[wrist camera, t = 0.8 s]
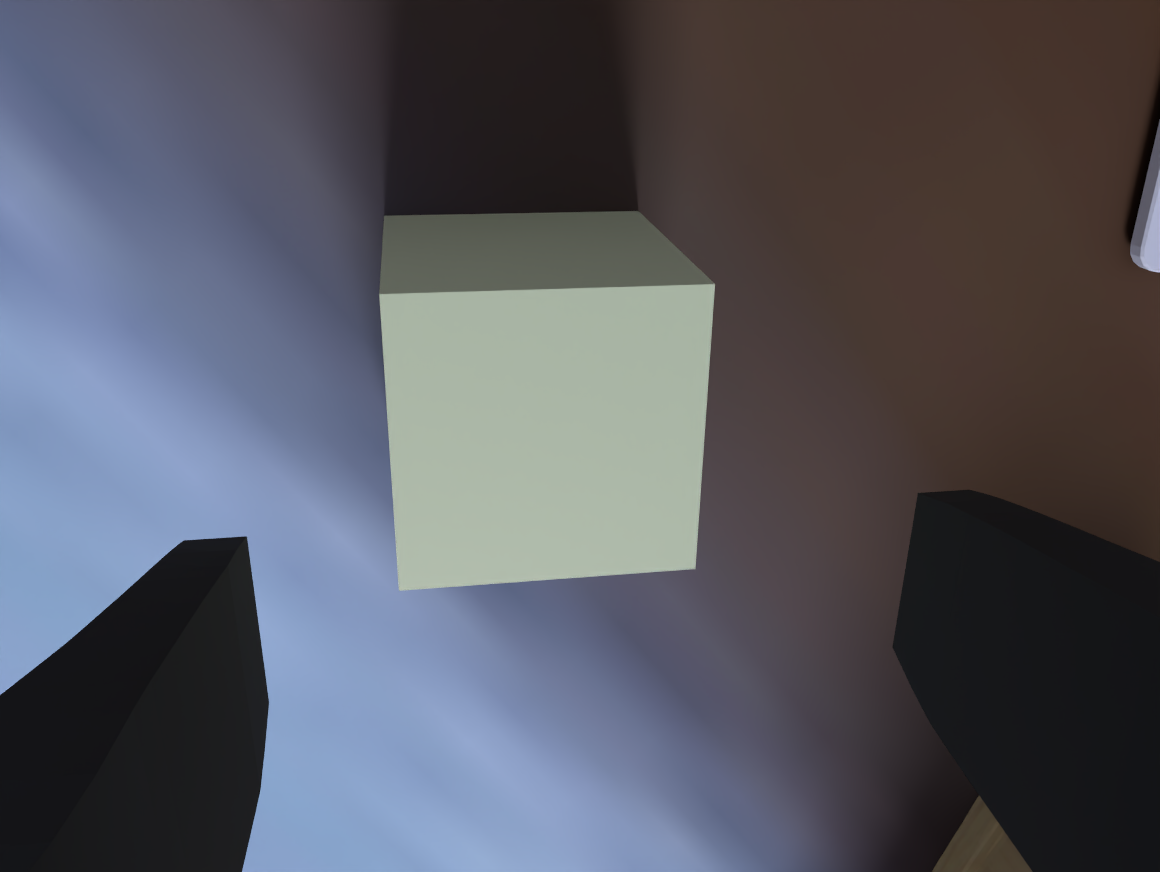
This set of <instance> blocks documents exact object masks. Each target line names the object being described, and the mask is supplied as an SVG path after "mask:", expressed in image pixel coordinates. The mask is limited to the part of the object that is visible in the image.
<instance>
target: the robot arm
mask: <svg viewBox="0 0 1160 872" xmlns="http://www.w3.org/2000/svg"><path fill="white" fill-rule="evenodd" d="M1130 254H1131V257H1132V259H1133V262H1134V263H1136V264H1137V265H1138V266H1139V267H1141V268H1144V269H1147V270H1149V271H1154V272H1160V121H1159V125H1158V129H1157V133H1156V138H1155V142H1154V146H1153V151H1152V155H1151V159H1150V163H1149V168H1148V172H1147V176H1146V181H1145V185H1144V189H1143V193H1142V198H1141V202H1140V206H1139V210H1138V215H1137V219H1136V223H1135V228H1134V232H1133V236H1132V240H1131V248H1130ZM893 649H894V651H895V653H896V655H897V657H898V660H899V662H900V664H901V666H902V668H903V670H904V672H905V674H906V677H907V679H908V681H909V683H910V685H911V687H912V689H913V691H914V693H915V695H916V697H917V699H918V701H919V703H920V705H921V707H922V709H923V710H924V712H925V714H926V716H927V718H928V720H929V722H930V724H931V725H932V727H933V728H934V730H935V731H936V733H937V734H938V736H939V737H940V739H941V740H942V742H943V743H944V745H945V746H946V748H947V749H948V751H949V752H950V754H951V755H952V756H953V758H954V759H955V761H956V762H957V764H958V765H959V767H960V768H961V770H962V771H963V773H964V774H965V776H966V777H967V778H968V780H969V781H970V783H971V784H972V786H973V787H974V789H975V790H976V791H977V793H978V794H979V796H980V797H981V799H982V800H983V801H984V803H985V804H986V806H987V807H988V809H989V810H990V811H991V813H992V814H993V816H994V817H995V819H996V820H997V822H998V823H999V824H1000V826H1001V827H1002V829H1003V830H1004V832H1005V833H1006V834H1007V836H1008V837H1009V839H1010V840H1011V842H1012V843H1013V844H1014V846H1015V847H1016V849H1017V850H1018V852H1019V853H1020V854H1021V856H1022V857H1023V859H1024V860H1025V862H1026V863H1027V865H1028V866H1029V867H1030V869H1031V870H1032V872H1160V562H1158V561H1156V560H1153V559H1151V558H1148V557H1146V556H1143V555H1141V554H1138V553H1136V552H1133V551H1131V550H1128V549H1126V548H1124V547H1121V546H1119V545H1116V544H1114V543H1111V542H1109V541H1106V540H1104V539H1102V538H1099V537H1097V536H1094V535H1092V534H1089V533H1087V532H1085V531H1082V530H1080V529H1077V528H1075V527H1072V526H1070V525H1067V524H1065V523H1063V522H1060V521H1058V520H1055V519H1053V518H1050V517H1048V516H1045V515H1043V514H1040V513H1038V512H1035V511H1032V510H1030V509H1027V508H1025V507H1022V506H1019V505H1017V504H1014V503H1011V502H1008V501H1005V500H1003V499H1000V498H997V497H993V496H990V495H987V494H983V493H980V492H976V491H972V490H959V491H944V492H928V493H918V497H917V503H916V509H915V515H914V521H913V527H912V533H911V539H910V545H909V551H908V557H907V563H906V569H905V575H904V581H903V587H902V593H901V600H900V606H899V612H898V618H897V624H896V630H895V636H894V642H893ZM268 707H269V700H268V692H267V685H266V677H265V670H264V662H263V655H262V647H261V640H260V632H259V625H258V617H257V610H256V602H255V595H254V587H253V580H252V572H251V565H250V557H249V550H248V542H247V537H231V538H216V539H201V540H185V541H183V542H181V543H180V544H179V545H177V546H176V547H175V548H174V549H172V550H171V551H170V552H169V553H168V554H167V555H165V556H164V557H163V558H162V559H161V560H160V561H159V562H158V563H156V564H155V565H154V566H153V567H152V568H151V569H150V570H149V571H148V572H146V573H145V574H144V575H143V576H142V577H141V578H140V579H139V580H138V581H137V582H135V583H134V584H133V585H132V586H131V587H130V588H129V589H128V590H127V591H125V592H124V593H123V594H122V595H121V596H120V597H119V598H118V599H117V600H115V601H114V602H113V603H112V604H111V605H110V606H109V607H107V608H106V609H105V610H104V611H103V612H102V613H100V614H99V615H98V616H97V617H96V618H95V619H94V620H92V621H91V622H90V623H89V624H88V625H87V626H86V627H84V628H83V629H82V630H81V631H80V632H79V633H78V634H76V635H75V636H74V637H73V638H72V639H71V640H69V641H68V642H67V643H66V644H65V645H64V646H62V647H61V648H60V649H58V650H57V651H56V652H55V653H53V654H52V655H51V656H50V657H48V658H47V659H46V660H44V661H43V662H42V663H41V664H39V665H38V666H37V667H36V668H34V669H33V670H32V671H30V672H29V673H28V674H27V675H25V676H24V677H23V678H22V679H20V680H19V681H18V682H16V683H15V684H14V685H13V686H11V687H10V688H9V689H8V690H6V691H5V692H4V693H2V694H1V695H0V872H242V868H243V864H244V860H245V856H246V851H247V847H248V842H249V838H250V834H251V829H252V825H253V821H254V816H255V812H256V807H257V803H258V798H259V794H260V788H261V779H262V770H263V760H264V751H265V740H266V729H267V718H268Z"/></svg>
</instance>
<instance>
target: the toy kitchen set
mask: <svg viewBox="0 0 1160 872" xmlns="http://www.w3.org/2000/svg"><path fill="white" fill-rule="evenodd" d="M932 872H1032V870H1031V869H1030V867H1029V866H1028V865H1027V863H1026V862H1025V860H1024V859H1023V857H1022V856H1021V854H1020V853H1019V852H1018V850H1017V849H1016V847H1015V846H1014V844H1013V843H1012V842H1011V840H1010V839H1009V837H1008V836H1007V834H1006V833H1005V832H1004V830H1003V829H1002V827H1001V826H1000V824H999V823H998V822H997V820H996V819H995V817H994V816H993V814H992V813H991V811H990V810H989V809H988V807H987V806H986V804H985V803H984V801H983V800H982V799H981V797H980V796H978V798H977V799H976V801H975V803H974V804H973V806H972V807H971V809H970V811H969V812H968V814H967V816H966V817H965V819H964V821H963V822H962V824H961V826H960V827H959V829H958V830H957V832H956V833H955V835H954V837H953V838H952V840H951V842H950V843H949V845H948V846H947V848H946V850H945V851H944V853H943V854H942V856H941V857H940V859H939V861H938V862H937V864H936V866H935V867H934V869H933V871H932Z"/></svg>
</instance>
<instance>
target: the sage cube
mask: <svg viewBox="0 0 1160 872" xmlns="http://www.w3.org/2000/svg"><path fill="white" fill-rule="evenodd" d="M714 290H715V284H714V283H713V282H712V281H711V280H710V279H709V278H708V277H707V276H706V275H705V274H704V273H703V272H702V271H701V270H700V269H699V268H697V267H696V266H695V265H694V264H693V263H692V262H691V261H690V260H689V259H688V258H687V257H686V256H685V255H684V254H683V253H682V252H681V251H680V250H679V249H678V248H677V247H676V246H674V245H673V244H672V243H671V242H670V241H669V240H668V239H667V238H666V237H665V236H664V235H663V234H662V233H661V232H660V231H659V230H658V229H657V228H656V227H655V226H654V225H653V224H651V223H650V222H649V221H648V220H647V219H646V218H645V217H644V216H643V215H642V214H641V213H640V212H639V211H613V212H559V213H505V214H451V215H396V216H384V226H383V243H382V259H381V275H380V291H379V297H380V312H381V327H382V342H383V357H384V372H385V387H386V402H387V417H388V432H389V447H390V462H391V477H392V492H393V507H394V522H395V537H396V552H397V567H398V582H399V591H401V590H414V589H428V588H442V587H455V586H469V585H483V584H496V583H510V582H523V581H537V580H551V579H564V578H578V577H592V576H605V575H619V574H632V573H646V572H660V571H673V570H687V569H695V565H696V550H697V536H698V521H699V507H700V492H701V478H702V464H703V449H704V435H705V420H706V406H707V391H708V377H709V362H710V348H711V333H712V319H713V304H714Z"/></svg>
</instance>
